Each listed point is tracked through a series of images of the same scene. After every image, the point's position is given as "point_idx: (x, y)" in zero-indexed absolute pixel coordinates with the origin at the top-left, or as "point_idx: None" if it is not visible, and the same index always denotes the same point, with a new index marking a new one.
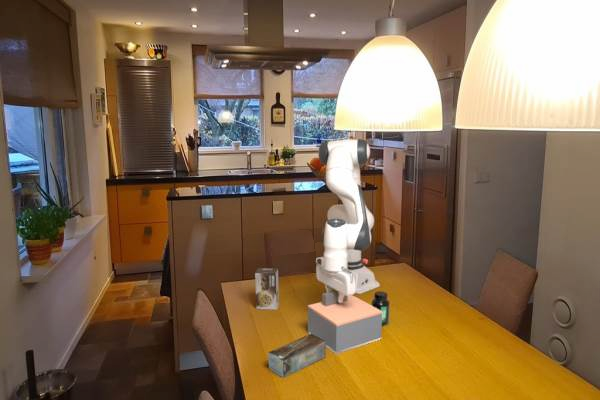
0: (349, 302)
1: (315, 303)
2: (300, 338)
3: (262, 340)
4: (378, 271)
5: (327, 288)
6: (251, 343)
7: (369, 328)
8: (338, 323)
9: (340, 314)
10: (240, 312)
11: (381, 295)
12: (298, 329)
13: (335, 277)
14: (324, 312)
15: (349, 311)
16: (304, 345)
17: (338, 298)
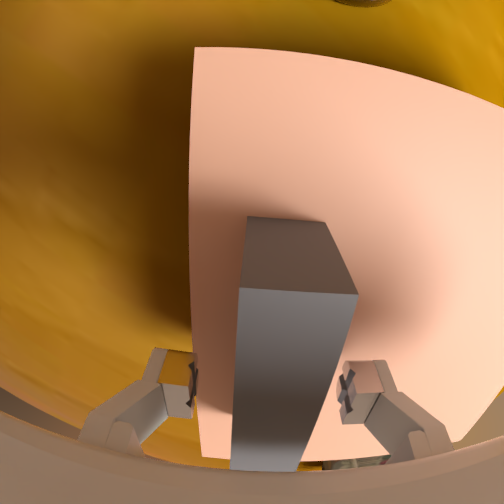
0: (369, 233)
1: (199, 429)
2: (336, 460)
3: (190, 438)
4: None
5: (141, 436)
6: (192, 454)
7: None
8: (464, 434)
9: (435, 402)
10: (10, 382)
11: None
12: (171, 348)
13: None
14: (345, 447)
15: (464, 344)
16: (378, 463)
17: (365, 419)
